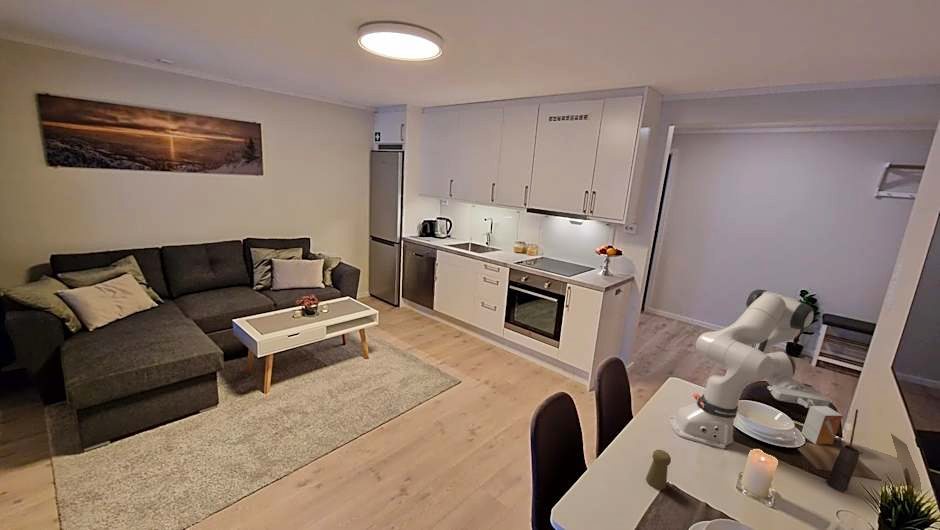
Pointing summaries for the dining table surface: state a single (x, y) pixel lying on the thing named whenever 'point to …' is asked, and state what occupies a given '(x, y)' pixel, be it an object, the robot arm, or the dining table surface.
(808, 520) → the dining table surface
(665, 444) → the dining table surface
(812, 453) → the walnut mat
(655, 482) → the olive pepper mill
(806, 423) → the small box
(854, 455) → the butter churn
